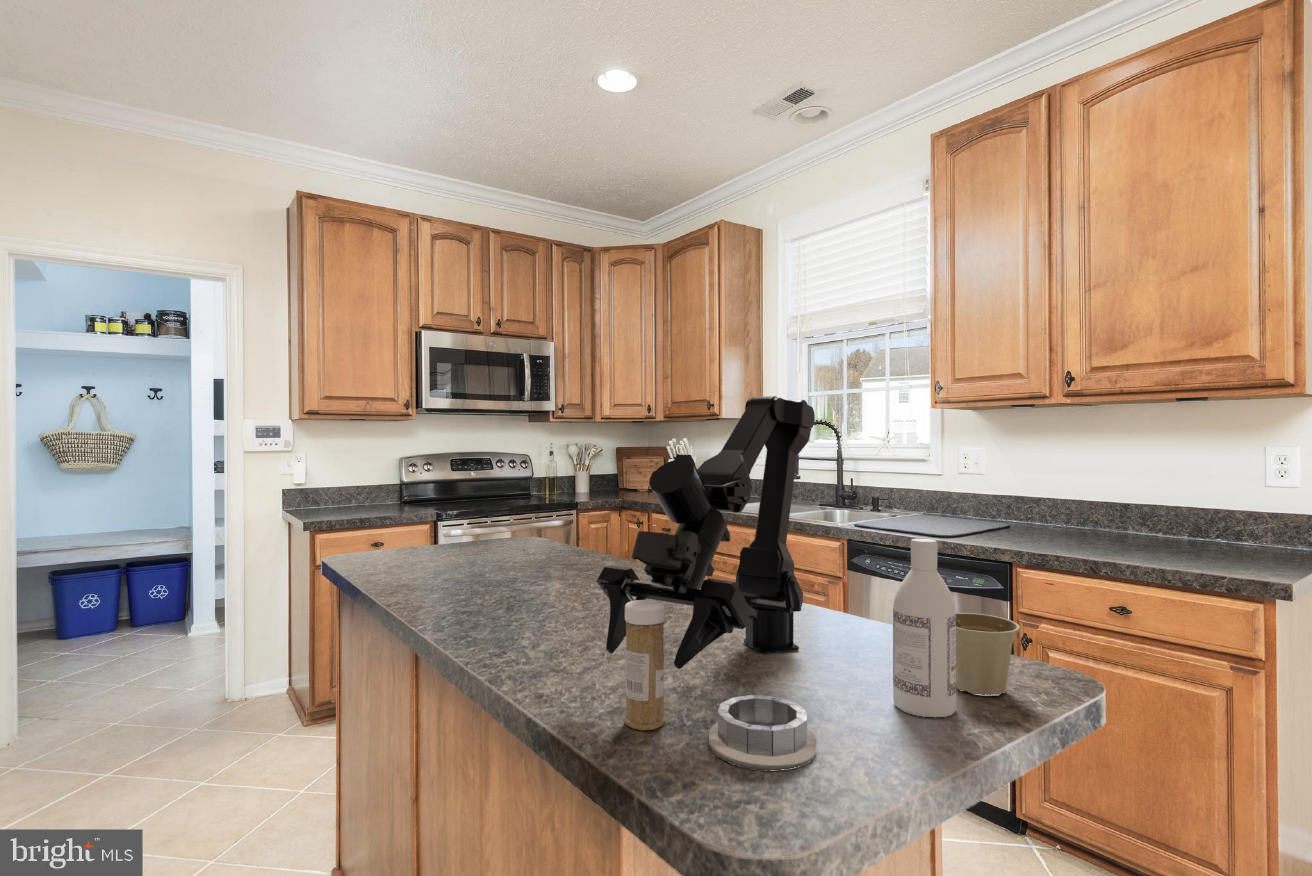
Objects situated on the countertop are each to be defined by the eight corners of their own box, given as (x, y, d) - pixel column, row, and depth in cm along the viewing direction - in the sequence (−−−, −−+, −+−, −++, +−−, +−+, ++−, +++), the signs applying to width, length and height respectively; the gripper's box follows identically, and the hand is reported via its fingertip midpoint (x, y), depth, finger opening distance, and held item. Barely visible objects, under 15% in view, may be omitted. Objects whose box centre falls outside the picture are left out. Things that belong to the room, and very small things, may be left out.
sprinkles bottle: (672, 725, 74) (673, 604, 74) (638, 735, 71) (638, 610, 71) (650, 712, 78) (651, 596, 78) (616, 720, 75) (617, 601, 75)
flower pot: (974, 706, 80) (974, 634, 80) (922, 679, 89) (922, 615, 89) (1037, 699, 82) (1037, 629, 82) (981, 673, 91) (981, 610, 91)
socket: (783, 718, 76) (783, 687, 76) (838, 761, 66) (838, 726, 66) (693, 730, 73) (693, 698, 73) (736, 778, 62) (736, 741, 62)
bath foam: (936, 696, 83) (936, 535, 83) (968, 719, 76) (968, 544, 76) (883, 698, 82) (883, 536, 82) (910, 721, 75) (910, 544, 76)
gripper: (606, 501, 84) (544, 606, 74) (739, 509, 73) (687, 632, 64) (641, 555, 90) (588, 658, 81) (768, 570, 80) (725, 690, 71)
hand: (641, 658), depth 74 cm, fingers open, 9 cm apart
